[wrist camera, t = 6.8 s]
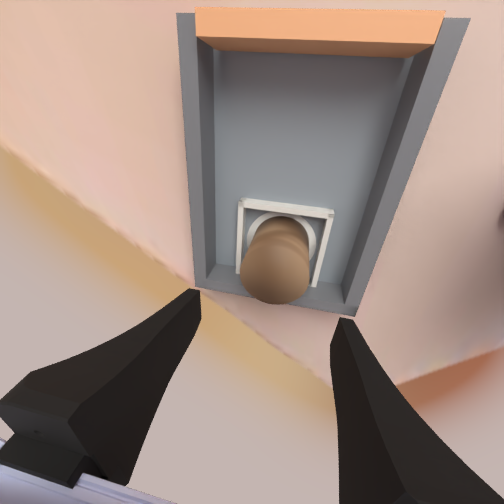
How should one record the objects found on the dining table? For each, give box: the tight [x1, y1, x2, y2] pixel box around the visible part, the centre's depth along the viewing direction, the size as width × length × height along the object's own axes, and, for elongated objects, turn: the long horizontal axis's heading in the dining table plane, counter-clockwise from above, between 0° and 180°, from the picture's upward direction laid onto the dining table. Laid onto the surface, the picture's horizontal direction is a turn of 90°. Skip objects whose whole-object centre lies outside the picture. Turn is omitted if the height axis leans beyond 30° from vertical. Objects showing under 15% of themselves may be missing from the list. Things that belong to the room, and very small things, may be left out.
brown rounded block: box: [240, 216, 309, 304], centre depth 17 cm, size 4×4×5 cm
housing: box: [176, 13, 471, 317], centre depth 16 cm, size 13×17×3 cm
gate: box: [195, 7, 446, 58], centre depth 12 cm, size 10×1×3 cm, turn 86°
